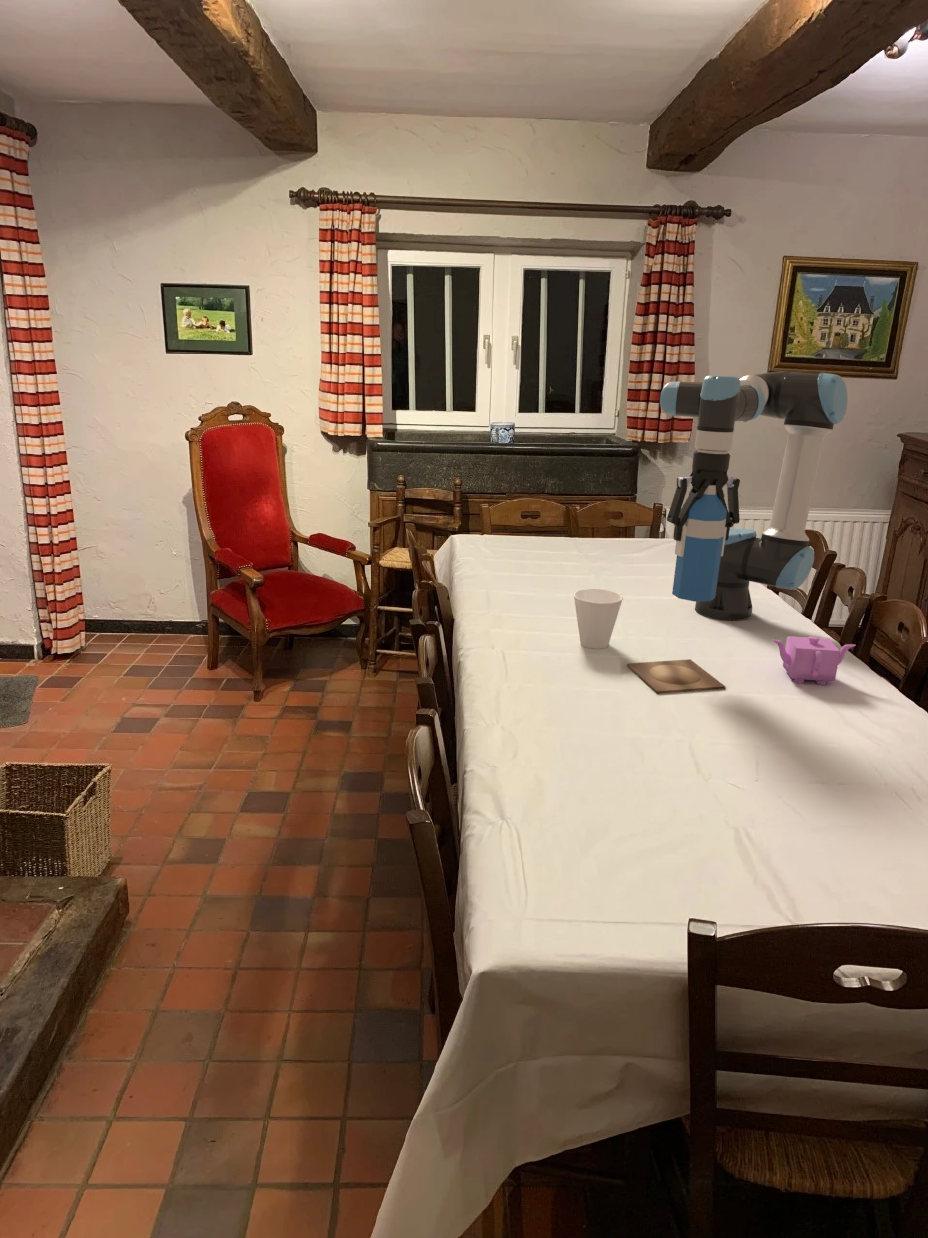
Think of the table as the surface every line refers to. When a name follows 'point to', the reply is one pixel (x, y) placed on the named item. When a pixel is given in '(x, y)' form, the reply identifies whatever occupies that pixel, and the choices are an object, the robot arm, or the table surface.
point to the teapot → (811, 658)
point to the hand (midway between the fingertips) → (698, 554)
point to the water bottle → (701, 549)
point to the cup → (596, 616)
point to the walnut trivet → (674, 676)
